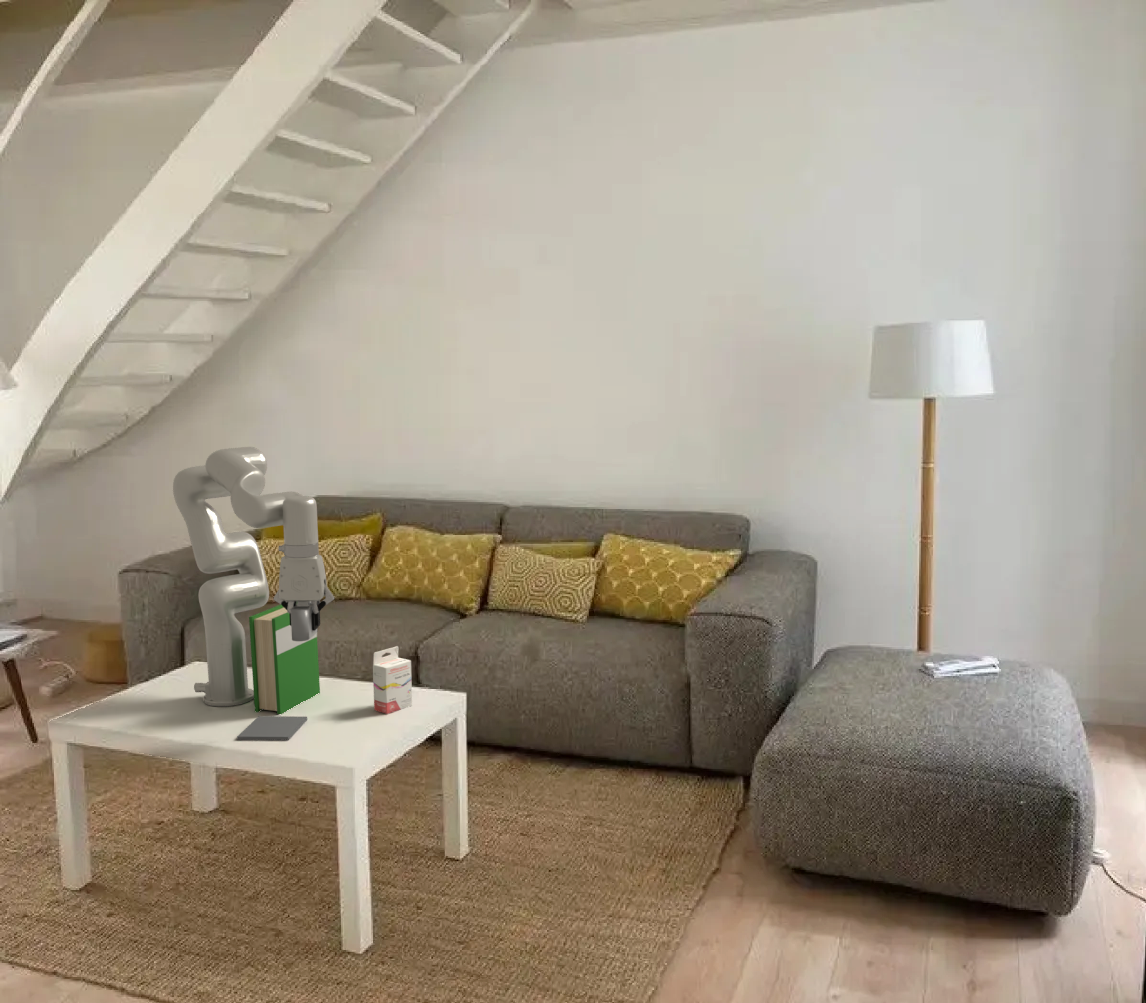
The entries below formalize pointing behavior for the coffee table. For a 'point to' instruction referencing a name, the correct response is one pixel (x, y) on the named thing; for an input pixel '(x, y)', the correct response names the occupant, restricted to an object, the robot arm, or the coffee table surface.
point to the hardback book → (281, 662)
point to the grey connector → (302, 621)
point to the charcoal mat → (272, 728)
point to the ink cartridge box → (391, 681)
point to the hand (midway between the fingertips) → (305, 628)
